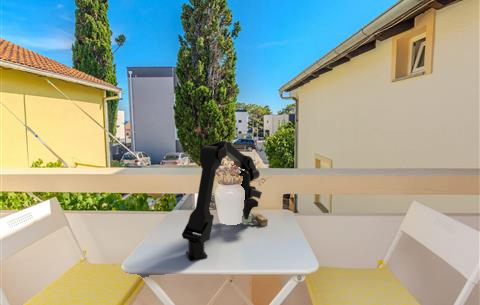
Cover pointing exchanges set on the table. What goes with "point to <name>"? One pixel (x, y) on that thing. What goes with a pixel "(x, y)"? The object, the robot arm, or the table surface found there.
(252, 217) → the hinge leaf
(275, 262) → the table surface
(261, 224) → the hinge base
